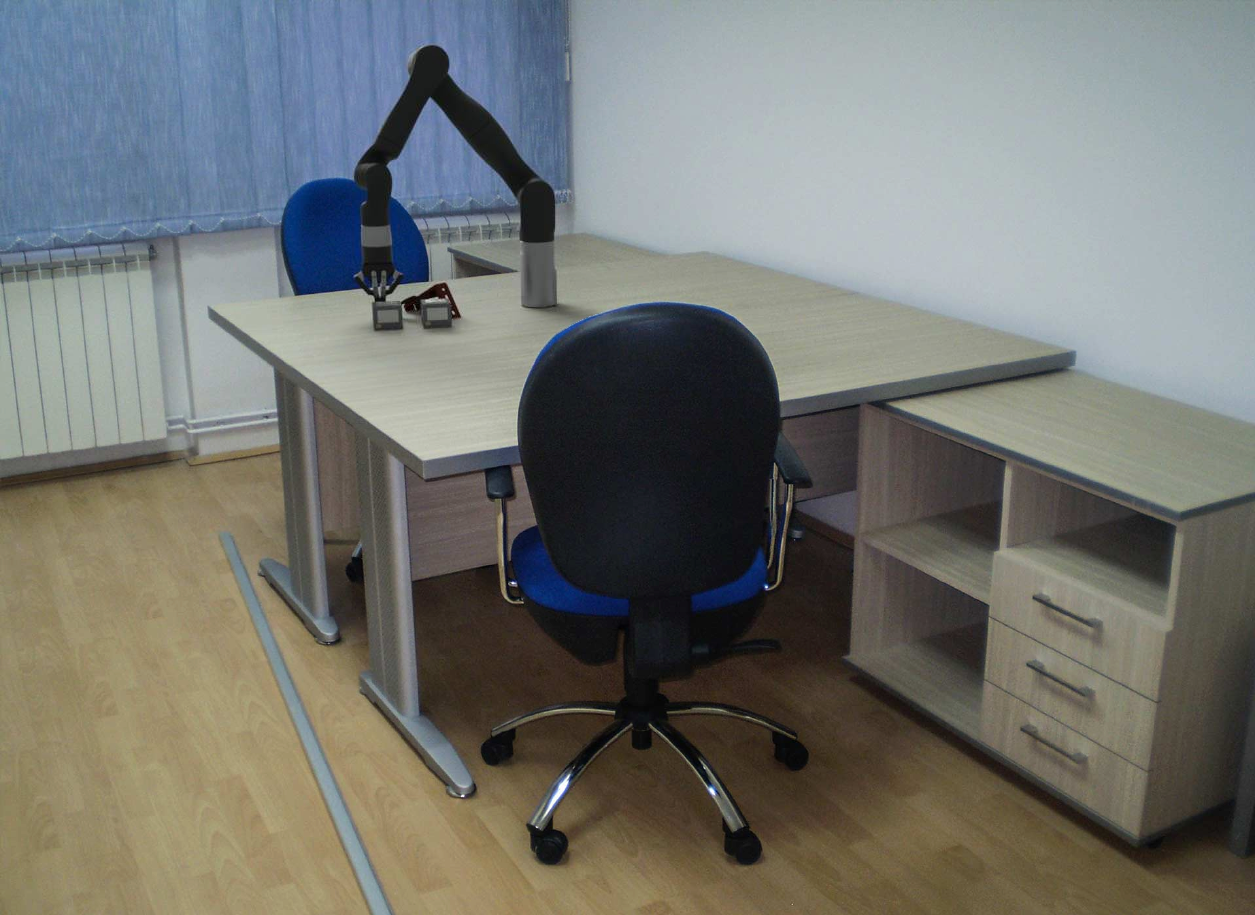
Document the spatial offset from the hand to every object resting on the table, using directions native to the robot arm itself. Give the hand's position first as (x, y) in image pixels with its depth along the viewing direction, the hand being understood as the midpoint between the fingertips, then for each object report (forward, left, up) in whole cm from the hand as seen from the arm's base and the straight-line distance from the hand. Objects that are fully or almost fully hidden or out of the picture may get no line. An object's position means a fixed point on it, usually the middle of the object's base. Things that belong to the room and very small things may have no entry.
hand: (380, 310), depth 325 cm
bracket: (-11, 0, -3) cm, 11 cm away
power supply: (-1, +12, -2) cm, 12 cm away
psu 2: (-13, +12, -2) cm, 18 cm away
